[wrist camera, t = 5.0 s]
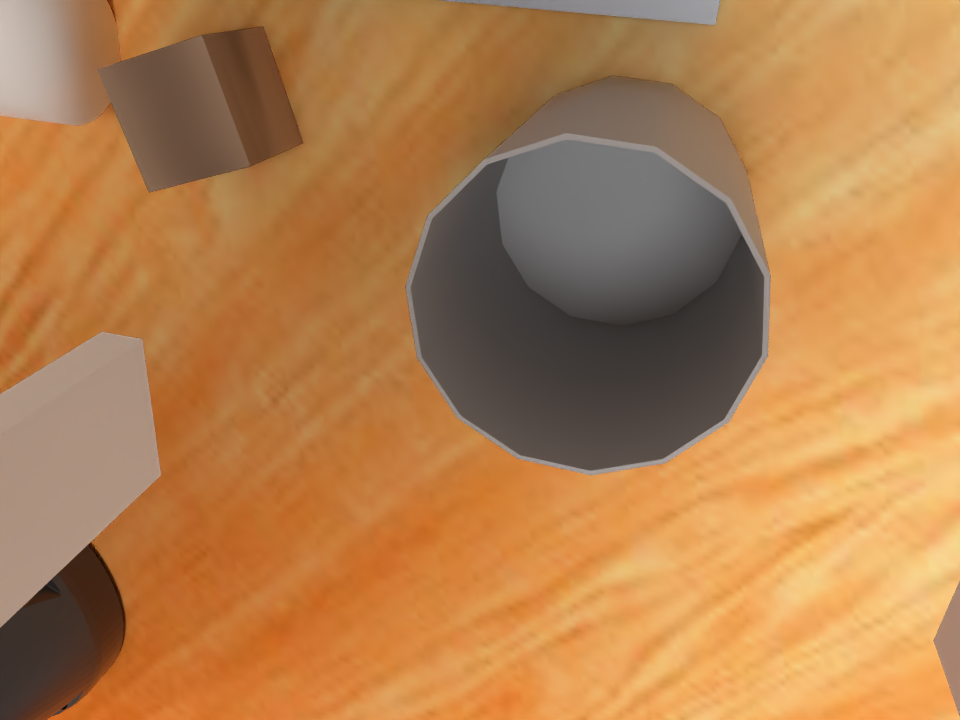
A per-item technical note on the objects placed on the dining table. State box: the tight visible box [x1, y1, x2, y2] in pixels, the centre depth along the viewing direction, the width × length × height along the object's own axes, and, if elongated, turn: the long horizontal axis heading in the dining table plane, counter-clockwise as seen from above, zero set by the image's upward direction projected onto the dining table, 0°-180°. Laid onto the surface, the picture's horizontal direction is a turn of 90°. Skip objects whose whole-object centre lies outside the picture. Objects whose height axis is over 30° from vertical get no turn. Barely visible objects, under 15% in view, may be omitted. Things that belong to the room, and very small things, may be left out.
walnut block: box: [97, 27, 303, 192], centre depth 27 cm, size 4×4×4 cm
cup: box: [405, 76, 771, 475], centre depth 23 cm, size 8×8×10 cm
